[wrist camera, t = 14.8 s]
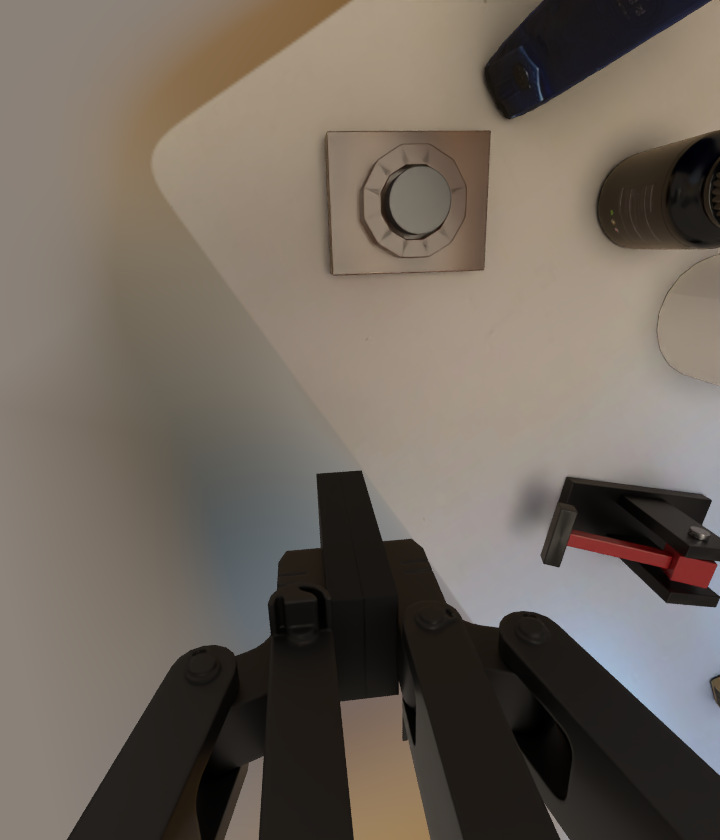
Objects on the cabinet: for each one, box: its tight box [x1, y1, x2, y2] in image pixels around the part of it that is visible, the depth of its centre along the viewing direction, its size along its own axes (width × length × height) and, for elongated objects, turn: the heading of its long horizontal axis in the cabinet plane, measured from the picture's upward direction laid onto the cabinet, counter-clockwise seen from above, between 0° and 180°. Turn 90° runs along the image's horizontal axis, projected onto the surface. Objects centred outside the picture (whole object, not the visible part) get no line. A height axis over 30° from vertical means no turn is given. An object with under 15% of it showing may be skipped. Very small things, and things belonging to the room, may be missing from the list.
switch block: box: [325, 131, 491, 275], centre depth 36 cm, size 11×9×4 cm
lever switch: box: [559, 477, 720, 607], centre depth 44 cm, size 14×6×10 cm, turn 80°
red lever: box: [541, 502, 717, 588], centre depth 41 cm, size 12×5×2 cm, turn 80°
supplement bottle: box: [598, 130, 720, 249], centre depth 34 cm, size 7×7×12 cm
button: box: [385, 166, 451, 235], centre depth 33 cm, size 4×4×2 cm
